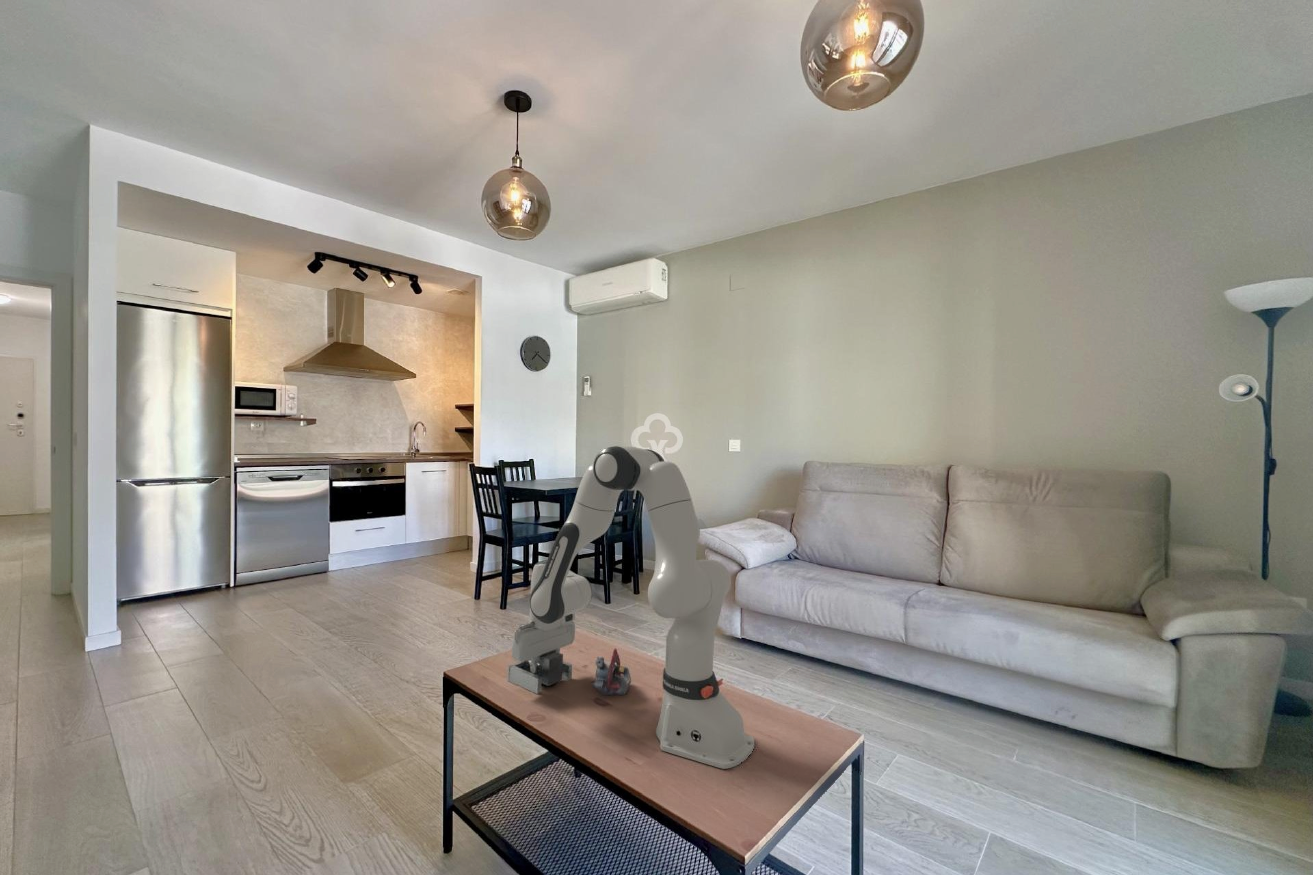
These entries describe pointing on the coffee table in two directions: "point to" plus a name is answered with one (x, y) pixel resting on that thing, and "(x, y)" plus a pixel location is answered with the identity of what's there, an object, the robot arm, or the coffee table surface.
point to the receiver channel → (532, 676)
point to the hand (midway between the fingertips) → (543, 668)
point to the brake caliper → (611, 676)
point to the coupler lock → (548, 667)
